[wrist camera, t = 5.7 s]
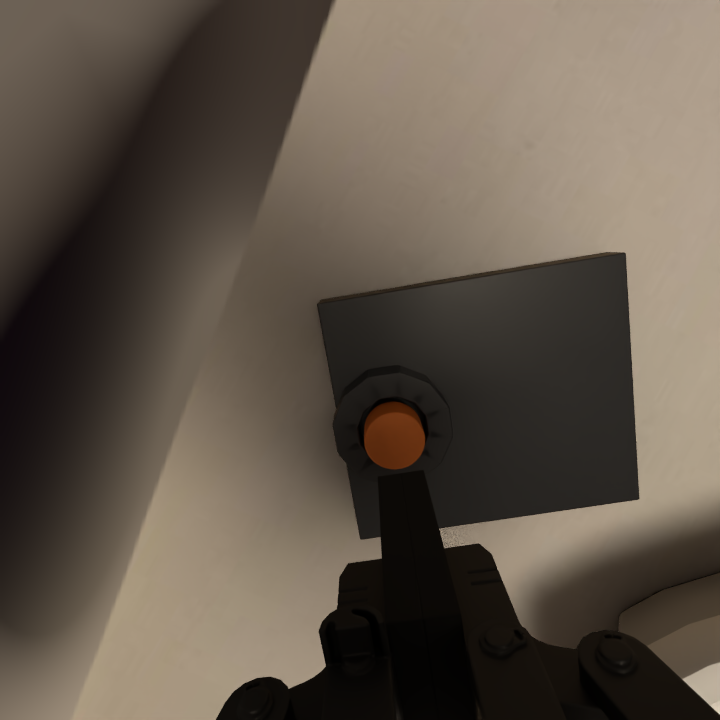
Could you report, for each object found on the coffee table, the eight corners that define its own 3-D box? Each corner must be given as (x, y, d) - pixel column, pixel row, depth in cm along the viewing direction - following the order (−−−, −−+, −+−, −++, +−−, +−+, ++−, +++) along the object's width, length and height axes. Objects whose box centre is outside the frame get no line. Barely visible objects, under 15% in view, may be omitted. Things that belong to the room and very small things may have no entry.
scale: (358, 522, 30) (357, 558, 26) (317, 300, 27) (310, 307, 24) (622, 483, 29) (656, 515, 26) (607, 252, 26) (644, 252, 23)
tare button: (369, 459, 26) (369, 474, 24) (359, 405, 25) (359, 417, 23) (424, 450, 25) (429, 465, 24) (417, 396, 25) (420, 407, 23)
